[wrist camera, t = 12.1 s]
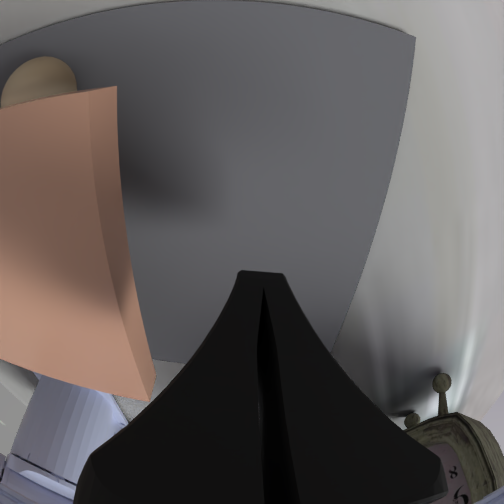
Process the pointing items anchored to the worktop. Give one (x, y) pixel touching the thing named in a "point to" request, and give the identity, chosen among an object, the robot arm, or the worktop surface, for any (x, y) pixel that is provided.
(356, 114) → the mat
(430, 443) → the tabletop clock
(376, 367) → the worktop surface
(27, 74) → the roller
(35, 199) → the slab
